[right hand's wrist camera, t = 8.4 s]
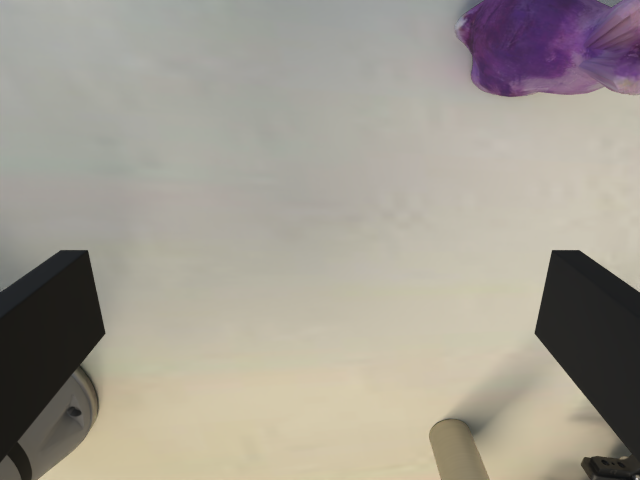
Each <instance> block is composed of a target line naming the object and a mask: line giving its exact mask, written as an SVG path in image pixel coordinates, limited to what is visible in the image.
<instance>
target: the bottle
mask: <svg viewBox="0 0 640 480" xmlns="http://www.w3.org/2000/svg"><path fill="white" fill-rule="evenodd" d="M429 439H430V443H431V446H432V450H433V453H434V457H435V460H436V464H437V467H438V471H439V474H440V478H441V480H490V479H489V476H488V474H487V472H486V469H485V467H484V464H483V462H482V459H481V457H480V454H479V452H478V449H477V447H476V444H475V442H474V439H473V437H472V434H471V432H470V429H469V427H468V426H467V425H466V424H465V423H464V422H462V421H459V420H455V419H448V420H443V421H441V422H439V423H437V424H436V425H435V426H434V427H433V428H432V429H431V431H430V434H429Z"/></svg>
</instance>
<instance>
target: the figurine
mask: <svg viewBox="0 0 640 480" xmlns="http://www.w3.org/2000/svg"><path fill="white" fill-rule="evenodd" d="M455 34H456V37H457V38H458V39H459V40H461V41H462V42H463V43H464V44H465V45H466V46H467V48H468V49H469V50H470V52H471V54H472V56H473V67H472V72H471V78H472V81H473V83H474V84H475V85H476V86H477V87H478V88H479V89H481V90H483V91H485V92H488V93H491V94H496V95H500V96H507V97H516V96H527V95H531V94H534V93H536V92H546V93H553V94H564V95H573V94H584V93H589V92H592V91H595V90H598V89H600V88H602V87H604V86H605V87H606V88H608V89H610V90H612V91H614V92H618V93H622V94H629V95H640V0H622V1H621V2H619V3H618V4H616V5H615V6H613V7H609V6H607V5H605V4H603V3H600V2H598V1H596V0H484V1H483V2H481V3H480V4H478V5H477V6H475V7H474V8H472V9H471V10H469V11H468V12H466V13H465V14H464V15H463V16H462V17H461V18H460V19H459V20H458V21H457V23H456V25H455Z"/></svg>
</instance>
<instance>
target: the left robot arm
mask: <svg viewBox="0 0 640 480" xmlns="http://www.w3.org/2000/svg"><path fill="white" fill-rule="evenodd" d="M581 466H582V467H583V469H584V470H585V472H586V473H587V475H588V477H589V478H590V479H591V480H640V463H639V461H638V460H637V459H636V458H635V456H634V455H633V454H632V455H631V456H630V457H628V456H623V457H621V458H619V459H615V458H607V457H600V456H595V457H591V458H588V457H584V459H583V461H582V462H581Z"/></svg>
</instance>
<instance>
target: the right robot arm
mask: <svg viewBox="0 0 640 480" xmlns="http://www.w3.org/2000/svg"><path fill="white" fill-rule="evenodd" d="M104 335H105V329H104V324H103V320H102V315H101V310H100V305H99V301H98V296H97V291H96V286H95V282H94V277H93V272H92V267H91V263H90V258H89V253H88V250H60V251H59V252H58V253H56V254H55V255H53V256H52V257H50V258H49V259H48V260H46V261H45V262H43V263H42V264H40V265H39V266H38V267H36V268H35V269H33V270H32V271H30V272H29V273H28V274H26V275H25V276H23V277H22V278H20V279H19V280H18V281H16V282H15V283H13V284H12V285H10V286H9V287H8V288H6V289H5V290H3V291H2V292H0V480H37V479H39V478H40V477H41V476H42V475H44V474H45V473H46V472H47V471H49V470H50V469H51V468H52V467H54V466H55V465H56V464H57V463H59V462H60V461H61V460H62V459H64V458H65V457H66V456H67V455H69V454H70V453H71V452H72V451H73V450H74V449H75V448H76V447H77V446H78V445H79V444H80V443H81V442H82V441H83V440H84V438H85V437H86V435H87V434H88V432H89V431H90V429H91V427H92V426H93V424H94V422H95V419H96V416H97V409H98V404H97V397H96V393H95V390H94V388H93V386H92V383H91V382H90V380H89V378H88V377H87V375H86V374H85V373H84V371H83V370H82V369H81V368H80V367H79V365H80V364H81V363H82V362H83V360H84V359H85V358H86V357H87V355H88V354H89V353H90V352H91V351H92V349H93V348H94V347H95V346H96V344H97V343H98V342H99V341H100V339H101V338H102V337H103V336H104ZM535 335H536V336H537V337H538V338H539V339H540V341H541V342H542V343H543V344H544V346H545V347H546V348H547V349H548V351H549V352H550V353H551V354H552V355H553V357H554V358H555V359H556V360H557V362H558V363H559V364H560V365H561V367H562V368H563V369H564V370H565V371H566V373H567V374H568V375H569V376H570V378H571V379H572V380H573V381H574V383H575V384H576V385H577V386H578V388H579V389H580V390H581V391H582V392H583V394H584V395H585V396H586V397H587V399H588V400H589V401H590V402H591V404H592V405H593V406H594V407H595V408H596V410H597V411H598V412H599V413H600V415H601V416H602V417H603V418H604V420H605V421H606V422H607V423H608V424H609V426H610V427H611V428H612V429H613V431H614V432H615V433H616V434H617V436H618V437H619V438H620V439H621V440H622V442H623V443H624V444H625V445H626V447H627V448H628V449H629V450H630V452H631V453H632V454H633V455H634V456H635V458H636V459H637V460H638V461H639V463H640V292H638V291H637V290H635V289H634V288H632V287H631V286H630V285H628V284H627V283H625V282H624V281H622V280H621V279H620V278H618V277H617V276H615V275H614V274H612V273H611V272H610V271H608V270H607V269H605V268H604V267H602V266H601V265H600V264H598V263H597V262H595V261H594V260H592V259H591V258H590V257H588V256H587V255H585V254H584V253H582V252H581V251H580V250H552V253H551V258H550V263H549V267H548V272H547V277H546V282H545V286H544V291H543V296H542V301H541V305H540V310H539V315H538V320H537V324H536V329H535Z"/></svg>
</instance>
